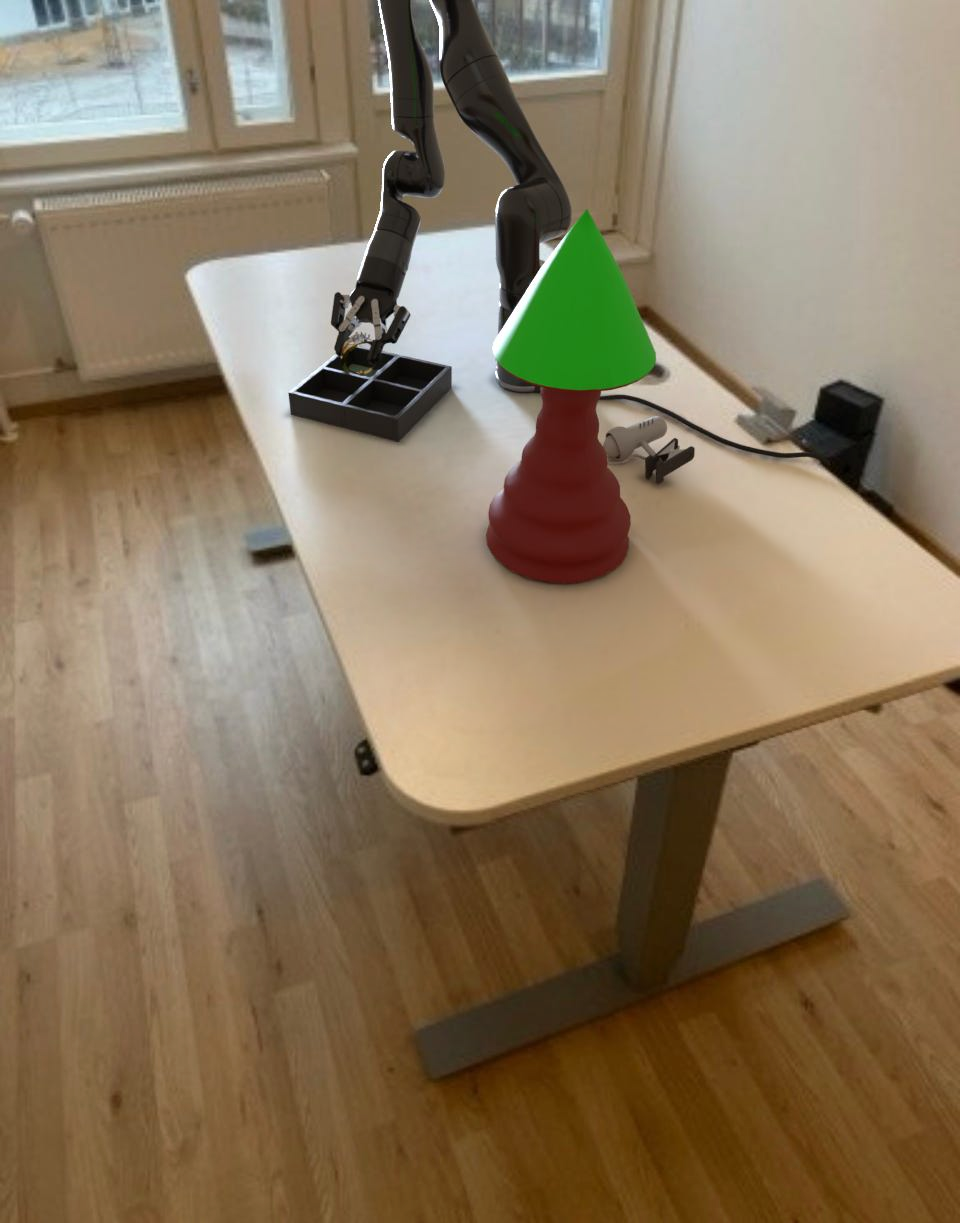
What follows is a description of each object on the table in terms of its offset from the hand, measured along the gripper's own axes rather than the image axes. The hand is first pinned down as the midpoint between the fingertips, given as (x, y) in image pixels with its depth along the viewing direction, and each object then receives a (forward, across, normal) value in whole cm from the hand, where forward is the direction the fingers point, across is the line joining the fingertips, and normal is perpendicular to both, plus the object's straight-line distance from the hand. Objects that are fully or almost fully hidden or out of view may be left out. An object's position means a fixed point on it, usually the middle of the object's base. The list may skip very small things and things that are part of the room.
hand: (355, 359), depth 164 cm
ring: (+2, 0, +4) cm, 5 cm away
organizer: (+6, +5, +1) cm, 8 cm away
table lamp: (+23, +47, -16) cm, 54 cm away
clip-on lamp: (+7, +50, 0) cm, 51 cm away
